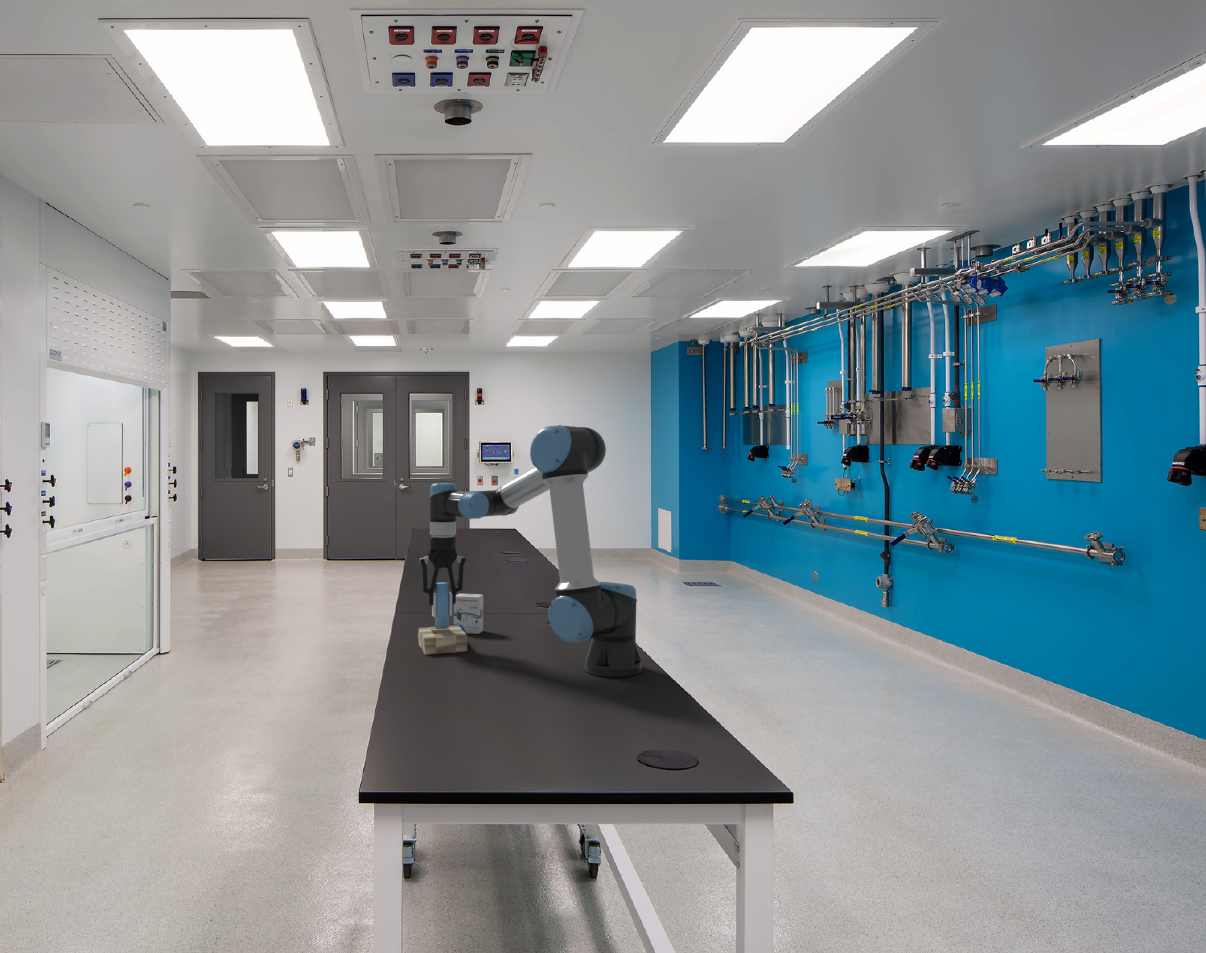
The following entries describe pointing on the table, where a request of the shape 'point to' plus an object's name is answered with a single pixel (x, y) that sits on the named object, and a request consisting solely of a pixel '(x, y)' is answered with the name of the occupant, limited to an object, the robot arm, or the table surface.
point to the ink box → (469, 612)
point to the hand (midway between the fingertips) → (442, 615)
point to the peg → (442, 605)
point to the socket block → (442, 640)
